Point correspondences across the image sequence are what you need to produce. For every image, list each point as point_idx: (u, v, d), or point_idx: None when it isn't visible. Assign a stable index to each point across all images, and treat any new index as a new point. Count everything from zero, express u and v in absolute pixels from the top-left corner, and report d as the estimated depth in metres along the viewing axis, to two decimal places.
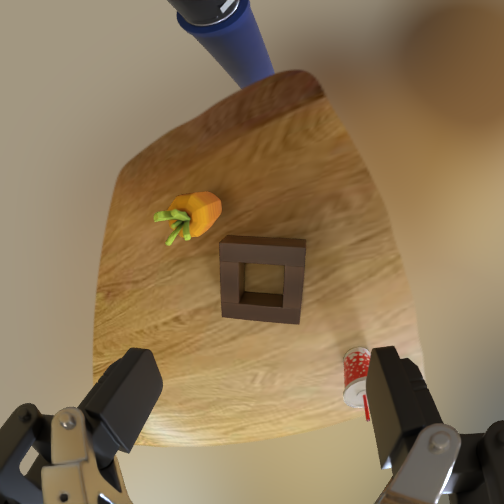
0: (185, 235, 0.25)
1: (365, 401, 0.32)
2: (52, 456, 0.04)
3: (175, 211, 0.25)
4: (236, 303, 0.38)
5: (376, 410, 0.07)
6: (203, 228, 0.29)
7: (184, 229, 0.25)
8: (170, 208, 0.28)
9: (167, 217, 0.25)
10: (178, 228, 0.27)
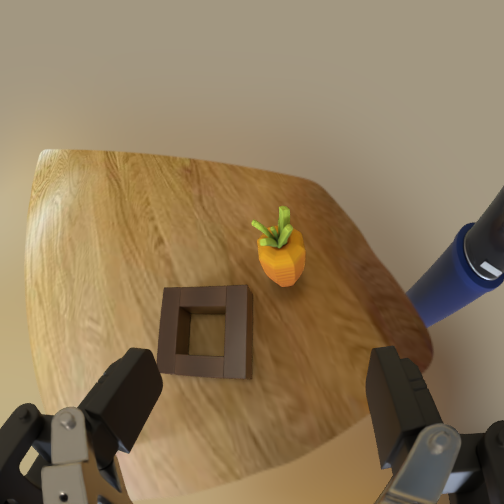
0: (265, 240, 0.23)
1: None
2: (52, 456, 0.04)
3: (290, 229, 0.23)
4: (179, 303, 0.33)
5: (376, 410, 0.07)
6: (268, 263, 0.26)
7: (270, 239, 0.24)
8: None
9: (283, 221, 0.24)
10: (269, 235, 0.25)
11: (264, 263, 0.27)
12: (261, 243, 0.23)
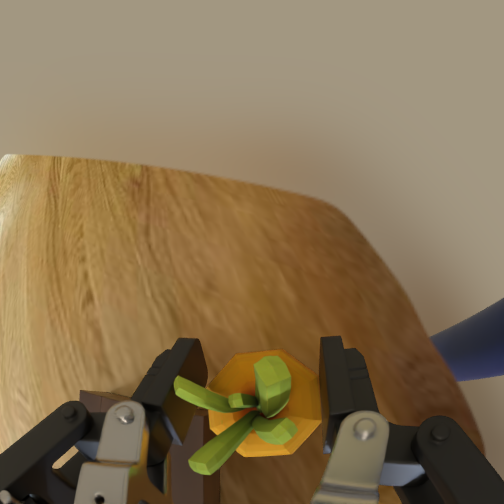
0: (204, 466, 0.05)
1: None
2: (98, 450, 0.05)
3: (289, 435, 0.06)
4: None
5: (322, 396, 0.08)
6: None
7: (225, 450, 0.06)
8: (286, 364, 0.10)
9: (267, 401, 0.06)
10: (229, 411, 0.08)
11: None
12: (194, 469, 0.06)
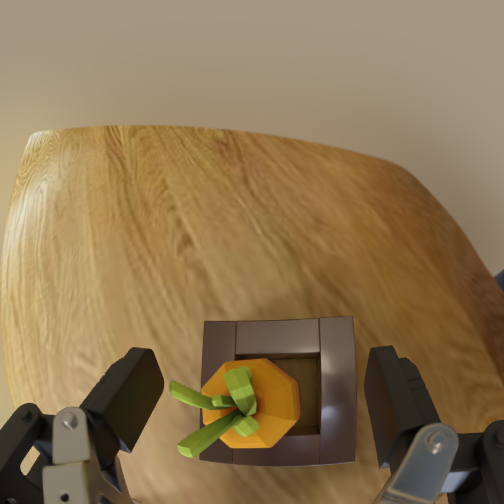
0: (188, 450, 0.07)
1: None
2: (54, 456, 0.04)
3: (252, 430, 0.08)
4: (235, 349, 0.19)
5: (374, 410, 0.07)
6: None
7: (206, 439, 0.08)
8: (265, 372, 0.12)
9: (236, 402, 0.08)
10: (213, 408, 0.10)
11: None
12: (182, 452, 0.08)
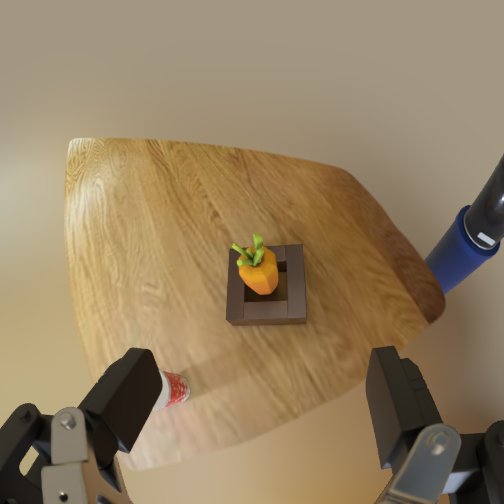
0: (241, 261, 0.29)
1: None
2: (52, 456, 0.04)
3: (262, 252, 0.30)
4: None
5: (376, 410, 0.07)
6: (246, 277, 0.33)
7: (246, 260, 0.30)
8: (264, 248, 0.34)
9: (256, 245, 0.30)
10: (246, 255, 0.32)
11: (243, 277, 0.33)
12: (238, 263, 0.29)
